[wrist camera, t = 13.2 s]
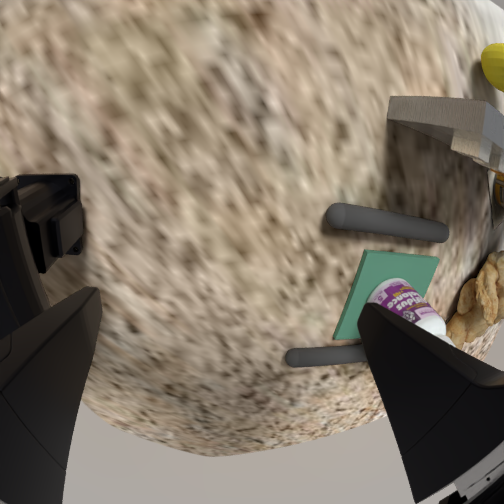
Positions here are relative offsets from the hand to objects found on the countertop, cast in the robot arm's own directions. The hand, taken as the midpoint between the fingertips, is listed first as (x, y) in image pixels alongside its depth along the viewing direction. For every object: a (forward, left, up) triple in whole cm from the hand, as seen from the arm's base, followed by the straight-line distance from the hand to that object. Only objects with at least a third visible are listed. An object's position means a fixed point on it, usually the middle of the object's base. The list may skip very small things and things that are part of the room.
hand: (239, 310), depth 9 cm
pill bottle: (+17, -8, -13) cm, 23 cm away
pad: (+18, -8, -13) cm, 24 cm away
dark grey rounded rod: (+15, -15, -13) cm, 25 cm away
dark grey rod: (+15, 0, -13) cm, 20 cm away
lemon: (+24, +19, -13) cm, 33 cm away
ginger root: (+35, -7, -13) cm, 38 cm away
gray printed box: (+20, +9, -13) cm, 26 cm away
